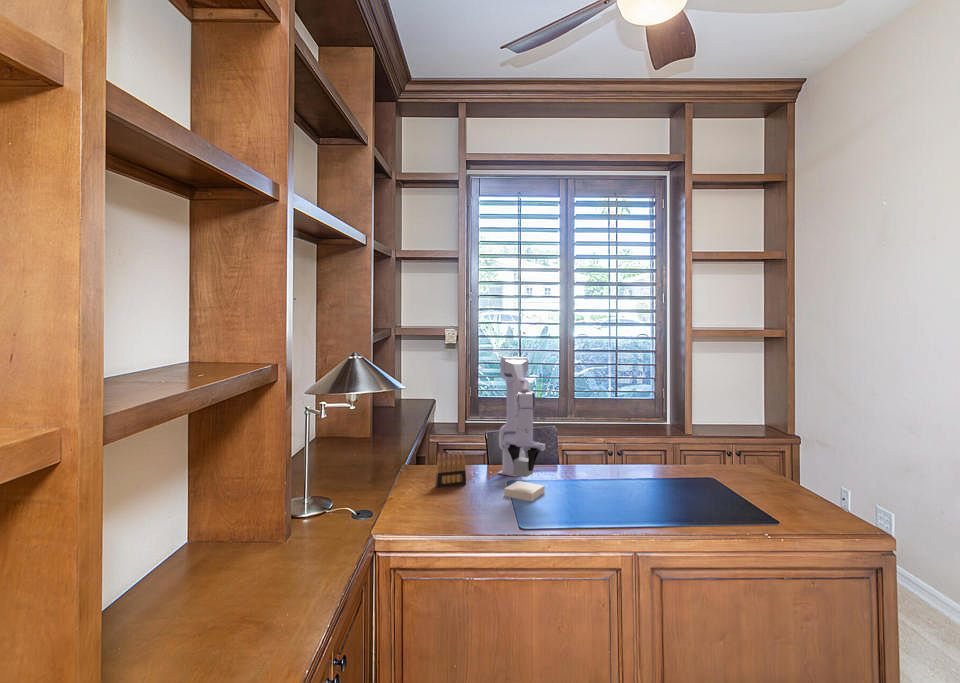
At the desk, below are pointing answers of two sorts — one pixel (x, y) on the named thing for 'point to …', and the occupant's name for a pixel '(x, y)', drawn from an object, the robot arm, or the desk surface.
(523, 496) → the cream block
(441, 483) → the ammunition clip
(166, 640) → the desk surface
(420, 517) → the desk surface
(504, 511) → the desk surface
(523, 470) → the grey cube
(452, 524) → the desk surface
